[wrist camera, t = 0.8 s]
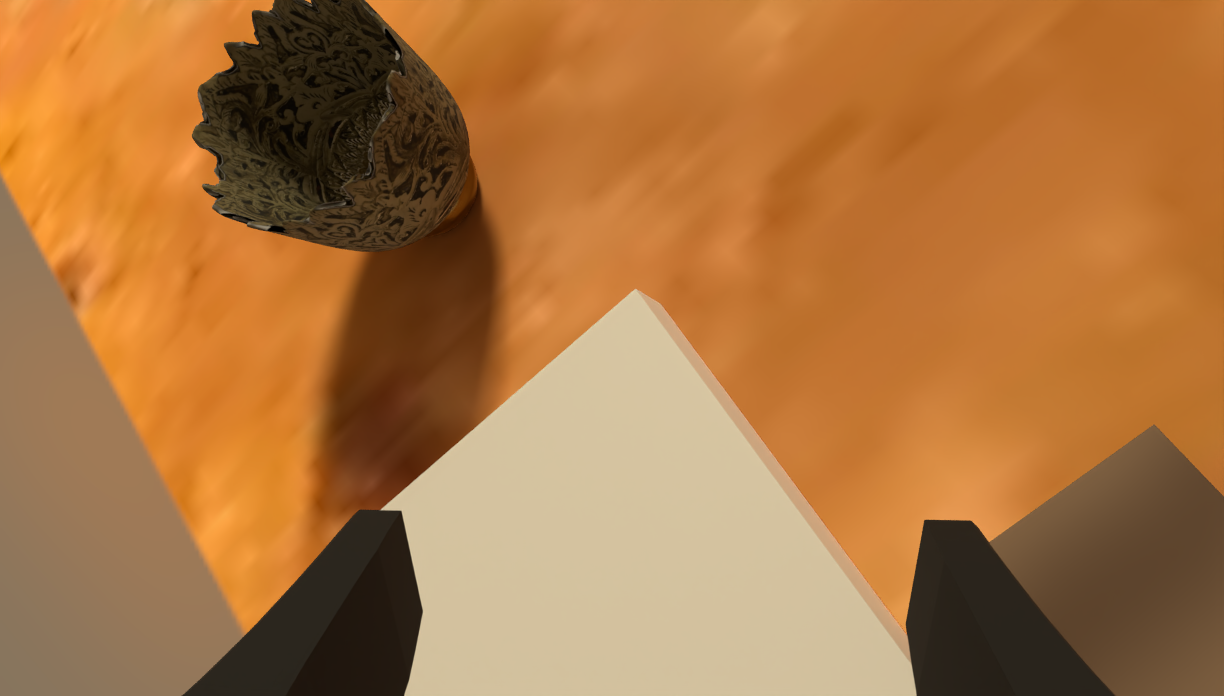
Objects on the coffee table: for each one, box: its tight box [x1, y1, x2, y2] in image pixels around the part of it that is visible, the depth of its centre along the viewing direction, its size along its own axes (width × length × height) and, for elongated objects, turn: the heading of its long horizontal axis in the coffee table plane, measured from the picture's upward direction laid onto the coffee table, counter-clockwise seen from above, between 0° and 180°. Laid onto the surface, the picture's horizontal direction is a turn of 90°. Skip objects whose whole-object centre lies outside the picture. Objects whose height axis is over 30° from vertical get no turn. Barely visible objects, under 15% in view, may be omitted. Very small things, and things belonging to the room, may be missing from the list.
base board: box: [381, 289, 917, 696], centre depth 28 cm, size 14×14×2 cm
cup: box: [192, 0, 478, 252], centre depth 31 cm, size 8×7×8 cm
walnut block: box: [989, 425, 1224, 696], centre depth 21 cm, size 5×5×5 cm
